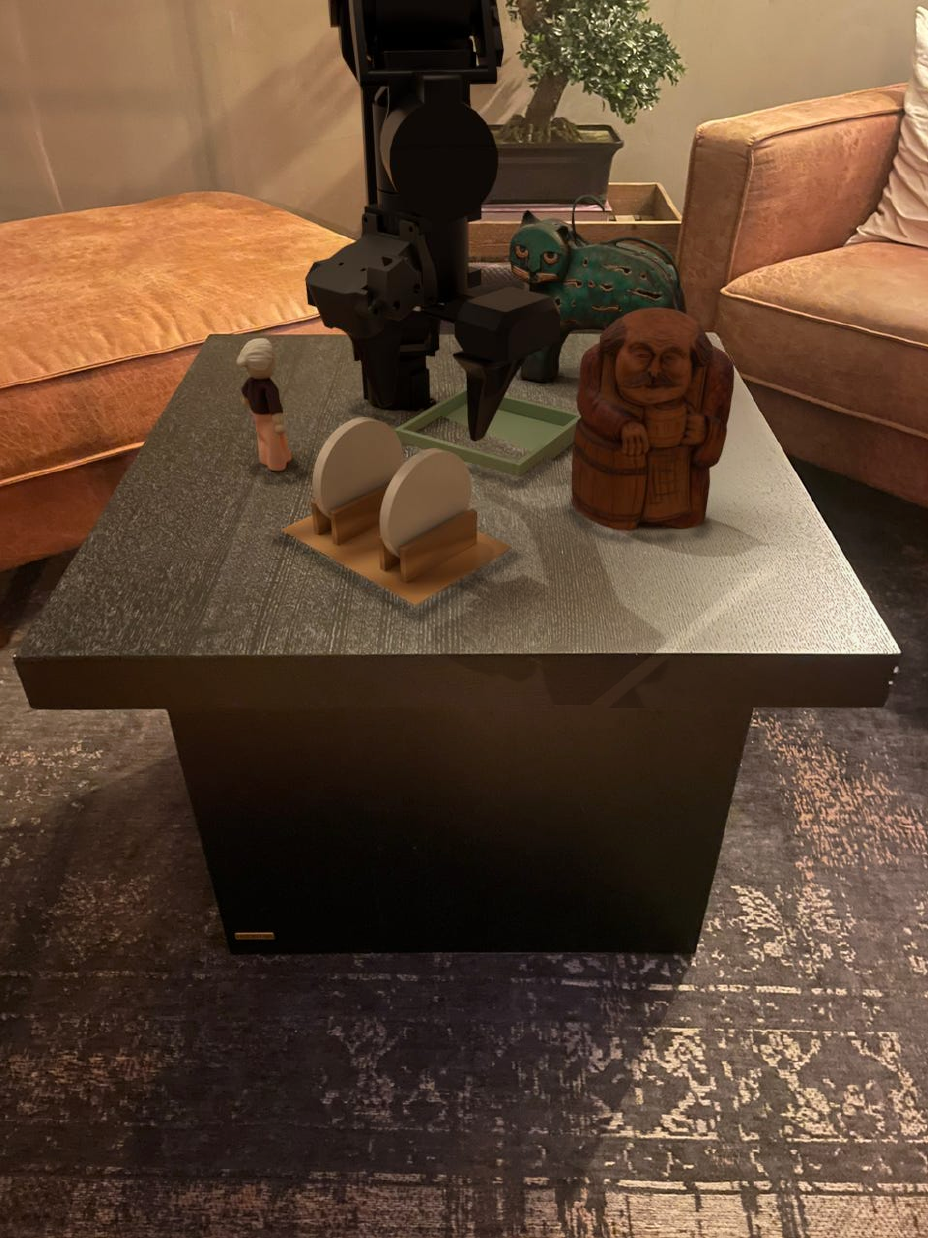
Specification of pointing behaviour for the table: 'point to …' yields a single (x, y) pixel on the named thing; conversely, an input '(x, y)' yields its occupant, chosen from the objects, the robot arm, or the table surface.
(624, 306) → the ceramic cat
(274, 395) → the grandmother figurine
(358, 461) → the plate
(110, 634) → the table surface
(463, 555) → the plate rack
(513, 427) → the tray
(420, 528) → the plate
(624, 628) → the table surface
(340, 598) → the table surface
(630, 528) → the wooden figurine
